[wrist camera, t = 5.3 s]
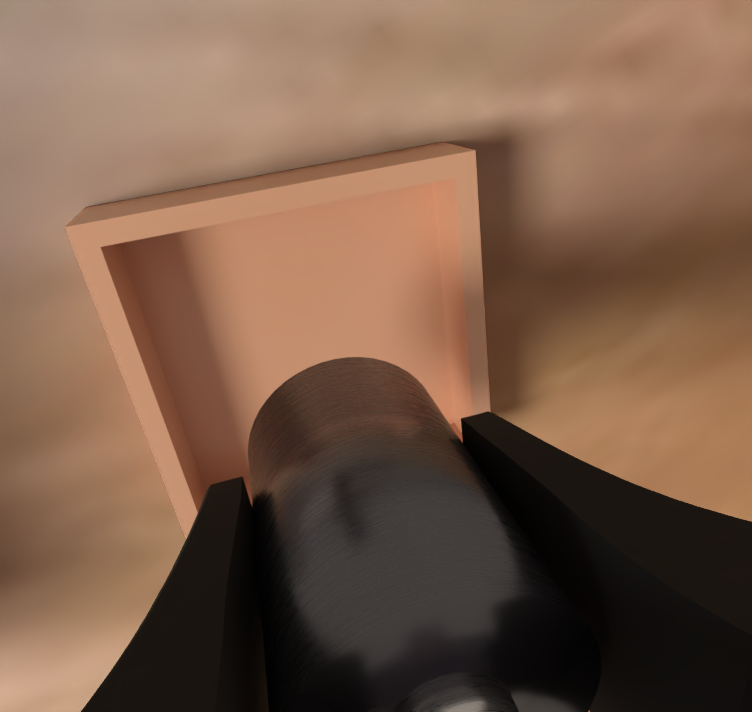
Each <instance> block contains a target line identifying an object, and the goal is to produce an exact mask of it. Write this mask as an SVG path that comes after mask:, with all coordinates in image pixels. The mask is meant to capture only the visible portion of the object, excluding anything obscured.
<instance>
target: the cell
mask: <svg viewBox="0 0 752 712" xmlns="http://www.w3.org/2000/svg"><path fill="white" fill-rule="evenodd" d="M248 462H249V475H250V487H251V499H252V511H253V523H254V535H255V547H256V559H257V571H258V583H259V595H260V608H261V620H262V632H263V644H264V656H265V668H266V680H267V692H268V704H269V712H588V710H589V709H590V707H591V705H592V703H593V700H594V698H595V695H596V692H597V690H598V686H599V681H600V677H601V655H600V649H599V646H598V643H597V641H596V638H595V636H594V634H593V633H592V631H591V630H590V628H589V627H588V625H587V624H586V622H585V621H584V619H583V618H582V616H581V615H580V614H579V612H578V611H577V609H576V608H575V606H574V605H573V603H572V602H571V600H570V599H569V597H568V596H567V595H566V593H565V592H564V590H563V589H562V587H561V586H560V584H559V583H558V581H557V580H556V579H555V577H554V576H553V574H552V573H551V571H550V570H549V568H548V567H547V565H546V564H545V562H544V561H543V560H542V558H541V557H540V555H539V554H538V552H537V551H536V549H535V548H534V546H533V545H532V543H531V542H530V541H529V539H528V538H527V536H526V535H525V533H524V532H523V530H522V529H521V527H520V526H519V525H518V523H517V522H516V520H515V519H514V517H513V516H512V514H511V513H510V511H509V510H508V508H507V507H506V506H505V504H504V503H503V501H502V500H501V498H500V497H499V495H498V494H497V492H496V491H495V489H494V488H493V487H492V485H491V484H490V482H489V481H488V479H487V478H486V476H485V475H484V473H483V472H482V471H481V469H480V468H479V466H478V465H477V463H476V462H475V460H474V459H473V457H472V456H471V454H470V453H469V452H468V450H467V449H466V447H465V446H464V444H463V443H462V441H461V440H460V438H459V437H458V435H457V434H456V433H455V431H454V430H453V428H452V427H451V425H450V424H449V422H448V421H447V419H446V418H445V417H444V415H443V414H442V412H441V411H440V409H439V408H438V406H437V405H436V403H435V402H434V400H433V399H432V398H431V396H430V395H429V393H428V392H427V390H426V389H425V387H424V386H423V385H422V384H421V383H420V382H419V381H418V380H417V379H416V378H415V377H414V376H413V375H411V374H410V373H409V372H407V371H406V370H404V369H402V368H400V367H399V366H396V365H394V364H391V363H389V362H386V361H382V360H378V359H374V358H365V357H346V358H339V359H333V360H329V361H325V362H321V363H319V364H316V365H314V366H311V367H308V368H307V369H305V370H303V371H301V372H299V373H297V374H295V375H294V376H292V377H291V378H290V379H288V380H287V381H285V382H284V383H283V384H282V385H281V386H279V387H278V388H277V389H276V390H275V391H274V392H273V393H272V394H271V396H270V397H269V398H268V399H267V400H266V401H265V403H264V404H263V406H262V407H261V409H260V410H259V412H258V414H257V416H256V418H255V420H254V422H253V426H252V429H251V432H250V436H249V442H248Z"/></svg>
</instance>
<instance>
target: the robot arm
mask: <svg viewBox="0 0 752 712" xmlns="http://www.w3.org/2000/svg"><path fill="white" fill-rule="evenodd" d="M461 428H462V439H463V444H464V446H465V447H466V449H467V450H468V452H469V453H470V454H471V456H472V457H473V459H474V460H475V462H476V463H477V465H478V466H479V468H480V469H481V471H482V472H483V473H484V475H485V476H486V478H487V479H488V481H489V482H490V484H491V485H492V487H493V488H494V489H495V491H496V492H497V494H498V495H499V497H500V498H501V500H502V501H503V503H504V504H505V506H506V507H507V508H508V510H509V511H510V513H511V514H512V516H513V517H514V519H515V520H516V522H517V523H518V525H519V526H520V527H521V529H522V530H523V532H524V533H525V535H526V536H527V538H528V539H529V541H530V542H531V543H532V545H533V546H534V548H535V549H536V551H537V552H538V554H539V555H540V557H541V558H542V560H543V561H544V562H545V564H546V565H547V567H548V568H549V570H550V571H551V573H552V574H553V576H554V577H555V579H556V580H557V581H558V583H559V584H560V586H561V587H562V589H563V590H564V592H565V593H566V595H567V596H568V597H569V599H570V600H571V602H572V603H573V605H574V606H575V608H576V609H577V611H578V612H579V614H580V615H581V616H582V618H583V619H584V621H585V622H586V624H587V625H588V627H589V628H590V630H591V631H592V633H593V634H594V636H595V638H596V641H597V643H598V646H599V649H600V655H601V677H600V681H599V686H598V690H597V692H596V695H595V698H594V700H593V703H592V705H591V707H590V709H589V710H590V712H752V522H750V521H747V520H743V519H739V518H735V517H732V516H728V515H725V514H721V513H718V512H715V511H711V510H708V509H704V508H701V507H697V506H694V505H691V504H688V503H685V502H682V501H679V500H676V499H673V498H670V497H668V496H665V495H662V494H660V493H657V492H654V491H651V490H649V489H646V488H643V487H641V486H638V485H635V484H633V483H631V482H628V481H626V480H623V479H621V478H619V477H616V476H614V475H612V474H610V473H607V472H605V471H603V470H601V469H599V468H596V467H594V466H592V465H590V464H588V463H586V462H584V461H581V460H579V459H577V458H575V457H573V456H571V455H569V454H567V453H565V452H563V451H561V450H560V449H558V448H556V447H554V446H552V445H550V444H548V443H546V442H544V441H543V440H541V439H539V438H537V437H535V436H533V435H532V434H530V433H528V432H526V431H524V430H522V429H521V428H519V427H517V426H515V425H513V424H512V423H510V422H508V421H506V420H504V419H503V418H501V417H499V416H497V415H495V414H493V413H491V412H489V411H487V412H484V413H480V414H476V415H472V416H468V417H465V418H461ZM81 712H269V704H268V692H267V680H266V668H265V656H264V644H263V632H262V620H261V608H260V595H259V583H258V571H257V559H256V547H255V535H254V523H253V511H252V505H251V502H250V499H249V496H248V493H247V489H246V486H245V483H244V480H243V476H241V477H238V478H234V479H230V480H226V481H223V482H219V483H215V484H211V485H210V486H209V488H208V489H207V491H206V493H205V496H204V499H203V501H202V504H201V506H200V509H199V511H198V514H197V516H196V518H195V521H194V523H193V525H192V528H191V530H190V532H189V535H188V537H187V539H186V541H185V543H184V545H183V547H182V549H181V551H180V554H179V556H178V558H177V560H176V562H175V564H174V566H173V568H172V570H171V572H170V574H169V576H168V578H167V580H166V581H165V583H164V585H163V587H162V589H161V590H160V592H159V594H158V596H157V598H156V599H155V601H154V603H153V605H152V607H151V609H150V610H149V612H148V614H147V616H146V617H145V619H144V621H143V622H142V624H141V625H140V627H139V629H138V630H137V632H136V634H135V635H134V637H133V638H132V640H131V642H130V643H129V645H128V646H127V648H126V649H125V651H124V652H123V654H122V655H121V657H120V658H119V660H118V661H117V663H116V664H115V666H114V667H113V669H112V670H111V671H110V673H109V674H108V676H107V677H106V678H105V680H104V681H103V683H102V684H101V685H100V687H99V688H98V689H97V691H96V692H95V693H94V695H93V696H92V698H91V699H90V700H89V702H88V703H87V704H86V706H85V707H84V708H83V710H82V711H81Z"/></svg>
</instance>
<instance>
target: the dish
mask: <svg viewBox="0 0 752 712" xmlns="http://www.w3.org/2000/svg"><path fill="white" fill-rule="evenodd" d="M64 228H65V230H66V233H67V235H68V238H69V241H70V243H71V246H72V248H73V251H74V253H75V256H76V259H77V261H78V264H79V266H80V269H81V271H82V274H83V276H84V279H85V282H86V284H87V287H88V289H89V292H90V294H91V297H92V300H93V302H94V305H95V307H96V310H97V312H98V315H99V318H100V320H101V323H102V325H103V328H104V330H105V333H106V335H107V338H108V341H109V343H110V346H111V348H112V351H113V353H114V356H115V359H116V361H117V364H118V366H119V369H120V371H121V374H122V377H123V379H124V382H125V384H126V387H127V389H128V392H129V394H130V397H131V400H132V402H133V405H134V407H135V410H136V412H137V415H138V418H139V420H140V423H141V425H142V428H143V430H144V433H145V436H146V438H147V441H148V443H149V446H150V448H151V451H152V453H153V456H154V459H155V461H156V464H157V466H158V469H159V471H160V474H161V477H162V479H163V482H164V484H165V487H166V489H167V492H168V495H169V497H170V500H171V502H172V505H173V507H174V510H175V512H176V515H177V518H178V520H179V523H180V525H181V528H182V530H183V533H184V536H185V538H186V539H187V537H188V535H189V532H190V530H191V528H192V525H193V523H194V521H195V518H196V516H197V514H198V511H199V509H200V506H201V504H202V501H203V499H204V496H205V493H206V491H207V489H208V488H209V486H210V485H211V484H215V483H219V482H223V481H226V480H230V479H234V478H238V477H241V476H243V480H244V483H245V486H246V489H247V493H248V496H249V499H250V502H251V505H252V499H251V487H250V475H249V462H248V442H249V436H250V432H251V429H252V426H253V422H254V420H255V418H256V416H257V414H258V412H259V410H260V409H261V407H262V406H263V404H264V403H265V401H266V400H267V399H268V398H269V397H270V396H271V394H272V393H273V392H274V391H275V390H276V389H277V388H278V387H279V386H281V385H282V384H283V383H284V382H285V381H287V380H288V379H290V378H291V377H292V376H294V375H295V374H297V373H299V372H301V371H303V370H305V369H307V368H308V367H311V366H314V365H316V364H319V363H321V362H325V361H329V360H333V359H339V358H346V357H365V358H374V359H378V360H382V361H386V362H389V363H391V364H394V365H396V366H399V367H400V368H402V369H404V370H406V371H407V372H409V373H410V374H411V375H413V376H414V377H415V378H416V379H417V380H418V381H419V382H420V383H421V384H422V385H423V386H424V387H425V389H426V390H427V392H428V393H429V395H430V396H431V398H432V399H433V400H434V402H435V403H436V405H437V406H438V408H439V409H440V411H441V412H442V414H443V415H444V417H445V418H446V419H447V421H448V422H449V424H450V425H451V427H452V428H453V430H454V431H455V433H456V434H457V435H458V437H459V438H460V440H461V441H462V443H463V439H462V428H461V418H465V417H468V416H472V415H476V414H480V413H484V412H487V411H489V412H490V394H489V377H488V359H487V342H486V325H485V307H484V290H483V272H482V255H481V237H480V220H479V203H478V185H477V168H476V150H473V149H469V148H465V147H461V146H457V145H453V144H449V143H445V142H439V143H434V144H428V145H423V146H417V147H412V148H406V149H401V150H395V151H390V152H384V153H379V154H373V155H368V156H363V157H357V158H352V159H346V160H341V161H335V162H330V163H324V164H319V165H313V166H308V167H303V168H297V169H292V170H286V171H281V172H275V173H270V174H264V175H259V176H253V177H248V178H242V179H237V180H232V181H226V182H221V183H215V184H210V185H204V186H199V187H193V188H188V189H182V190H177V191H171V192H166V193H161V194H155V195H150V196H144V197H139V198H133V199H128V200H122V201H117V202H111V203H106V204H100V205H95V206H90V207H86V208H84V209H83V210H82V211H81V212H80V213H79V214H78V215H77V216H76V217H75V218H74V219H73V220H72V221H70V222H69V223H68V224H67V225H66V226H65V227H64Z"/></svg>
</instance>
